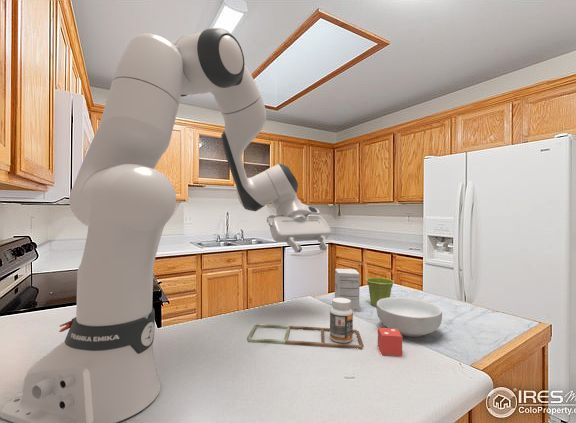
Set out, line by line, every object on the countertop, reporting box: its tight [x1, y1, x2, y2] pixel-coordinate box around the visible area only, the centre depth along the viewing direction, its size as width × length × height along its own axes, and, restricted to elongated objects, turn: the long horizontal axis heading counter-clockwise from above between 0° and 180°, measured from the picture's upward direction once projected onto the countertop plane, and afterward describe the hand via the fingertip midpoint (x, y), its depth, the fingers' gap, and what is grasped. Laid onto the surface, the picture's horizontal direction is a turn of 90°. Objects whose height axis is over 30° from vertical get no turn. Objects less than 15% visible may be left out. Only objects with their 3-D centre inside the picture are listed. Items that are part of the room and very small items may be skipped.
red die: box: [377, 327, 403, 357], centre depth 68 cm, size 4×4×5 cm
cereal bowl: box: [376, 296, 443, 338], centre depth 80 cm, size 17×17×7 cm
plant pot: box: [365, 277, 395, 308], centre depth 102 cm, size 9×9×9 cm
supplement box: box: [334, 268, 361, 312], centre depth 98 cm, size 7×7×13 cm
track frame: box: [246, 323, 365, 350], centre depth 75 cm, size 28×10×1 cm, turn 84°
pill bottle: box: [329, 297, 354, 344], centre depth 74 cm, size 6×6×10 cm
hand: (312, 250), depth 84 cm, fingers open, 8 cm apart
